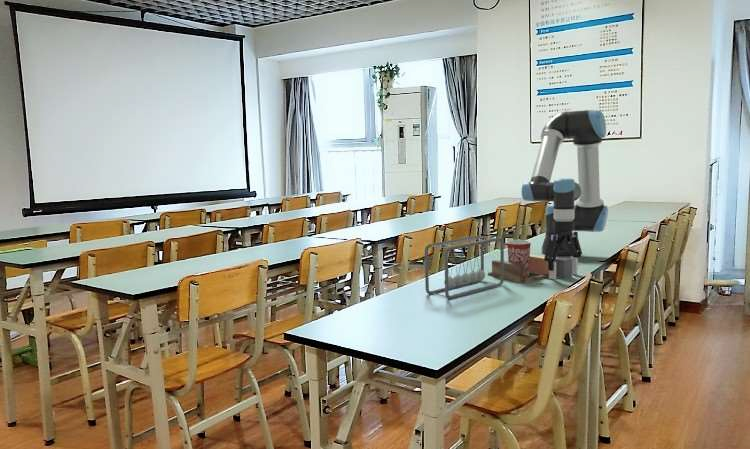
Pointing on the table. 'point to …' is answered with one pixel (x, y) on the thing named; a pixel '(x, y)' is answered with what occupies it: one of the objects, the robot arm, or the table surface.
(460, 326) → the table surface
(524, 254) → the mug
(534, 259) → the block
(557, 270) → the lock block
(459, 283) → the newton's cradle
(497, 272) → the clamp bed
